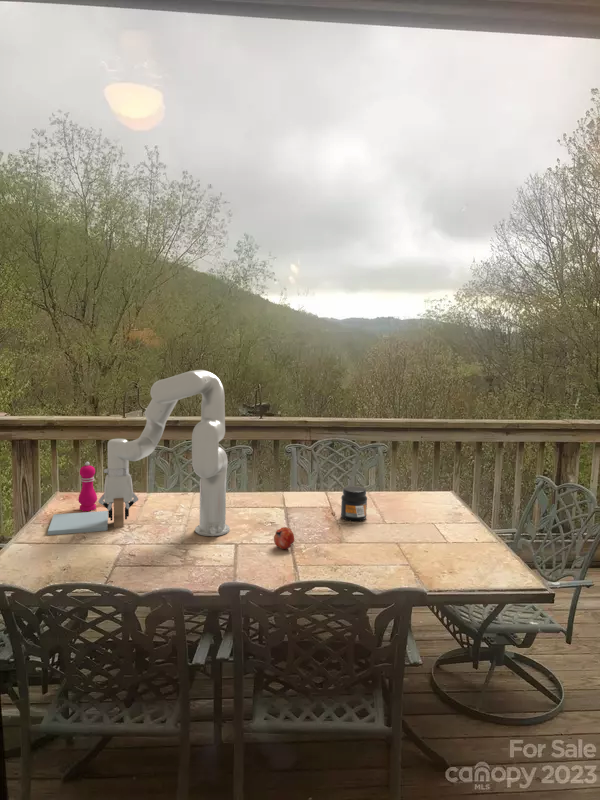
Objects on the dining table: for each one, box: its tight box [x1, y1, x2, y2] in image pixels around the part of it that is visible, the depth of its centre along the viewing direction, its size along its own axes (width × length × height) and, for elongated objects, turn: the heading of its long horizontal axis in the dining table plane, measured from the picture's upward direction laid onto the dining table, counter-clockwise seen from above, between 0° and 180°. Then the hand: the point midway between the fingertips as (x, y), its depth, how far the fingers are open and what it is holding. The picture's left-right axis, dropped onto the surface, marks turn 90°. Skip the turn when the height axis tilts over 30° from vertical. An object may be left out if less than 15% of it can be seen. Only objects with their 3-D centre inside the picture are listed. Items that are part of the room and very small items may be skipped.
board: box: [47, 510, 109, 536], centre depth 207 cm, size 20×20×2 cm
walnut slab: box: [113, 498, 125, 529], centre depth 208 cm, size 7×4×11 cm, turn 18°
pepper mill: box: [77, 461, 98, 512], centre depth 225 cm, size 7×7×20 cm
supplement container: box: [340, 485, 368, 522], centre depth 223 cm, size 10×10×12 cm
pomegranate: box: [273, 526, 295, 550], centre depth 188 cm, size 7×7×10 cm
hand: (118, 518), depth 208 cm, fingers open, 4 cm apart
